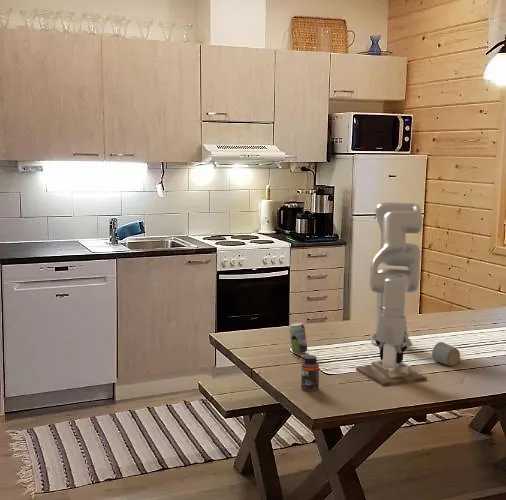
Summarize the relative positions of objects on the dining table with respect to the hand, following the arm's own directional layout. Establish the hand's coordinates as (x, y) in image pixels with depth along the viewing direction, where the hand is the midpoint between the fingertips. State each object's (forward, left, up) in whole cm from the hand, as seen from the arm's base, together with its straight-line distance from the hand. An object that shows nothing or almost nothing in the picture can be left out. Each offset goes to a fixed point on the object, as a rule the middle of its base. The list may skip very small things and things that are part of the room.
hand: (391, 360), depth 250 cm
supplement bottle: (+34, +3, -6) cm, 35 cm away
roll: (0, 0, -3) cm, 3 cm away
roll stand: (0, 0, -5) cm, 5 cm away
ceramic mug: (-28, -4, -6) cm, 29 cm away
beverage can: (+20, -35, -6) cm, 41 cm away
